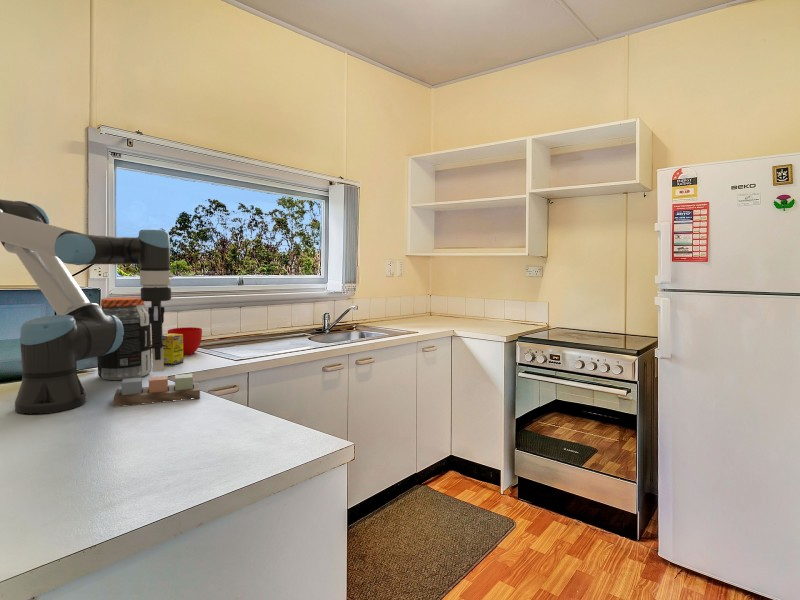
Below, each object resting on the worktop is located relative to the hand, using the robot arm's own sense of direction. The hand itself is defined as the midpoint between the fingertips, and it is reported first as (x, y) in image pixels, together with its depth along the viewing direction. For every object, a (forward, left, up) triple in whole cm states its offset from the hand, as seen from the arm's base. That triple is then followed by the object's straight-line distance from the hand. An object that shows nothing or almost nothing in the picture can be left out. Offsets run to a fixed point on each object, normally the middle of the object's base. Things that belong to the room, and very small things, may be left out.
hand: (158, 370), depth 135 cm
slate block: (-5, +5, -6) cm, 9 cm away
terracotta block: (0, 0, -6) cm, 6 cm away
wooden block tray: (0, 0, -8) cm, 8 cm away
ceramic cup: (+51, +43, -8) cm, 67 cm away
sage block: (+5, -4, -6) cm, 9 cm away
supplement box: (+36, +33, -8) cm, 49 cm away
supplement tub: (+15, +32, -8) cm, 36 cm away
